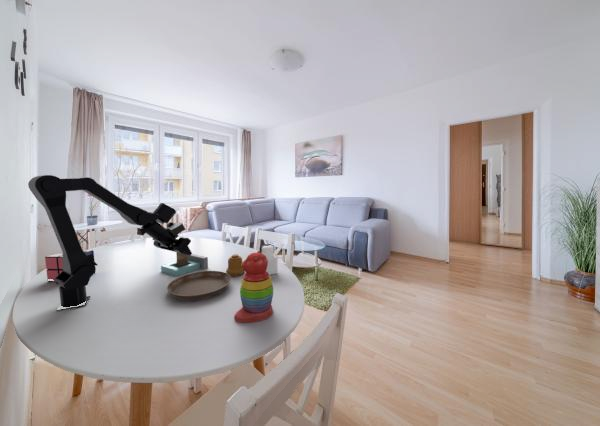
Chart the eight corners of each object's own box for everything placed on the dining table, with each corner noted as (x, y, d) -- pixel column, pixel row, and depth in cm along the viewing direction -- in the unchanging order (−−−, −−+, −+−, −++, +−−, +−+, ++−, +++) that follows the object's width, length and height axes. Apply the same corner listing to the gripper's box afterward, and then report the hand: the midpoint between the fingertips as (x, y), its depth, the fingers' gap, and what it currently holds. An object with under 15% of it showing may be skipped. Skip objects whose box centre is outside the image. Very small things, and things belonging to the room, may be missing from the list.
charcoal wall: (204, 269, 102) (203, 258, 101) (182, 263, 110) (181, 253, 109) (208, 267, 103) (207, 257, 103) (186, 262, 111) (185, 252, 111)
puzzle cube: (72, 282, 87) (69, 257, 86) (46, 282, 87) (43, 256, 86) (96, 273, 97) (94, 250, 96) (73, 272, 97) (70, 249, 96)
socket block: (176, 276, 93) (176, 270, 93) (161, 271, 99) (160, 265, 98) (200, 268, 103) (199, 262, 102) (184, 264, 108) (184, 259, 108)
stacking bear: (245, 302, 72) (244, 247, 70) (277, 304, 71) (276, 248, 69) (231, 322, 62) (229, 257, 60) (268, 324, 60) (267, 259, 59)
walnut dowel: (185, 271, 99) (184, 246, 98) (175, 271, 99) (174, 246, 98) (190, 267, 104) (189, 244, 103) (180, 267, 104) (179, 243, 102)
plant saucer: (210, 307, 70) (209, 297, 69) (152, 300, 74) (151, 290, 73) (240, 281, 90) (240, 272, 89) (194, 276, 94) (193, 269, 93)
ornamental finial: (231, 269, 101) (247, 270, 100) (223, 276, 94) (240, 277, 93) (230, 252, 100) (246, 253, 99) (222, 257, 93) (239, 258, 92)
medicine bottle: (256, 270, 100) (256, 244, 99) (272, 268, 103) (272, 242, 102) (261, 276, 94) (260, 247, 92) (277, 273, 97) (277, 246, 95)
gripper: (185, 218, 91) (209, 240, 102) (159, 215, 100) (183, 235, 111) (166, 241, 85) (194, 262, 96) (140, 236, 94) (168, 255, 105)
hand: (185, 252), depth 102 cm, fingers open, 8 cm apart
